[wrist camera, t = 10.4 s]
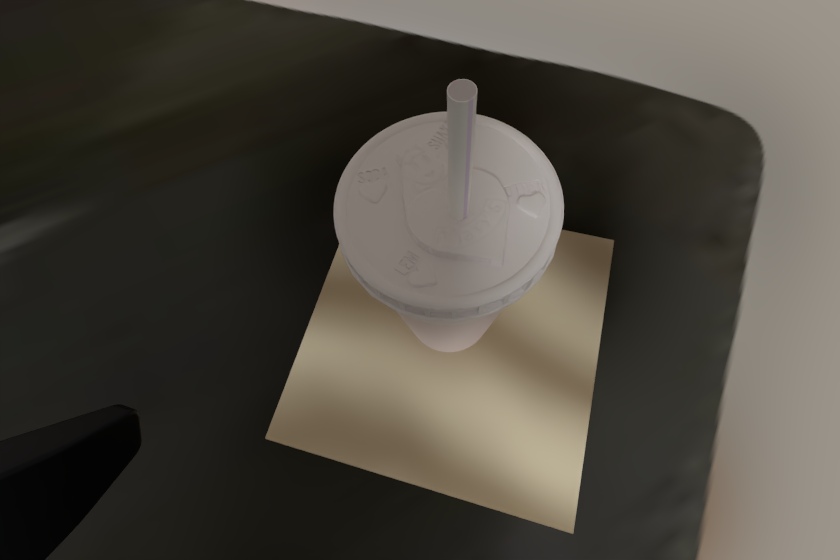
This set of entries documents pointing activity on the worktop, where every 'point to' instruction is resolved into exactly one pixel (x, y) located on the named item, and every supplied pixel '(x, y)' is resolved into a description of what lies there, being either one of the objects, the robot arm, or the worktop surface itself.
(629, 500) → the worktop surface
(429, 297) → the smoothie
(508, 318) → the cutting board
